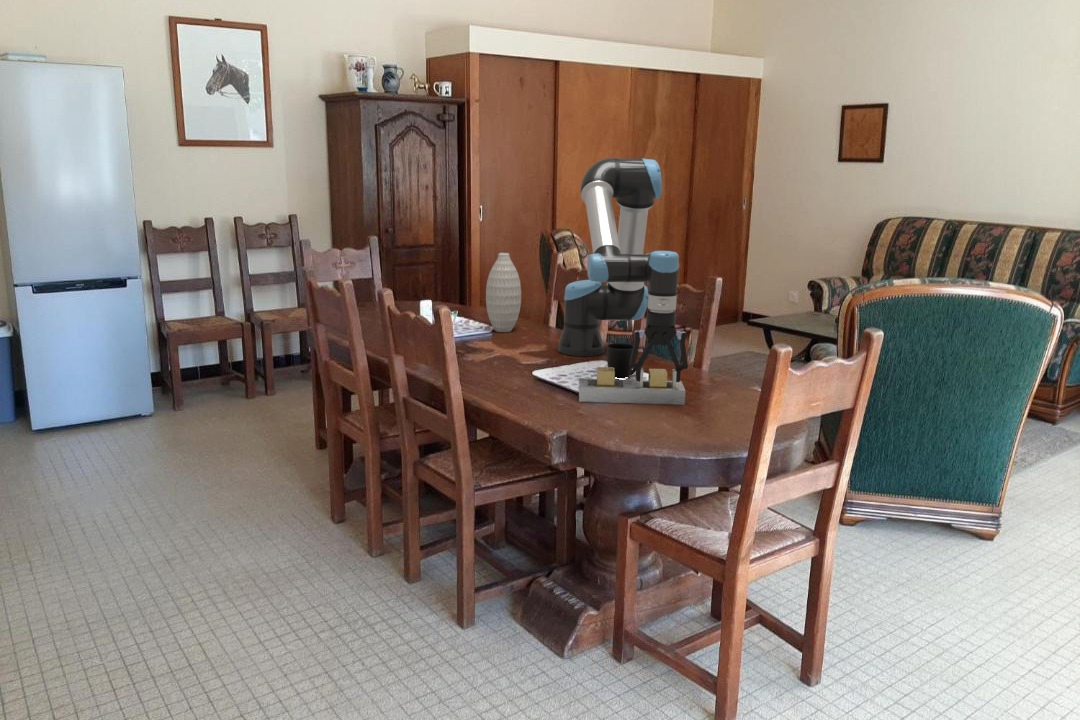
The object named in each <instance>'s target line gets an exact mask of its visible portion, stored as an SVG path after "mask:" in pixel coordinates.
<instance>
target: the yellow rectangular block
mask: <svg viewBox="0 0 1080 720" xmlns="http://www.w3.org/2000/svg"><path fill="white" fill-rule="evenodd" d="M647 380H648V388H664V389H666V388H667V381H668V371H667V370H666V368H648V378H647Z"/></svg>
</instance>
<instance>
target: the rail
mask: <svg viewBox="0 0 1080 720" xmlns="http://www.w3.org/2000/svg"><path fill="white" fill-rule="evenodd" d="M578 381H579V383H578V402H579V403H580V402H581V403H605V404H606V403H607V404H608V403H610V404H611V403H613V404H615V403H616V404H642V405H643V404H644V405H678V406H679V405H680V406H684V405H685V403H686V392H687V391H686V389H685V387H684V384H683V381H681V380H680V382H676V389H671V388H672V380H667V388H666V389H664V388H648V379H647V380H645V379H643V388H641V387H640V384H639V381H636V379H626V380H619V379H614V387H597V378H580V377H579V378H578Z"/></svg>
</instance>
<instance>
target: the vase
mask: <svg viewBox="0 0 1080 720" xmlns="http://www.w3.org/2000/svg"><path fill="white" fill-rule="evenodd" d="M510 256H511V255H510V253H509V252H499V253H498V254H497V258H496V260H495V261H494V264H493V265H492V267H491V269H490V271H489V274H488V276H487V282H486V289H485V305H486V311H487V316H488V318H489V321H490V324H491V326H492V328H493V329H494V331H495V332H497V333H509V332H510V333H511V332H512V330H513V328H514V327H515V325H516V324H517V321H518V318H519V314H520V312H521V311H520V310H521V304H522V287H521V279H520V277H519V273H518V270H517V268H516V266H515V265H514V263H513V261H512V259H511V257H510Z"/></svg>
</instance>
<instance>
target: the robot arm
mask: <svg viewBox="0 0 1080 720" xmlns="http://www.w3.org/2000/svg"><path fill="white" fill-rule="evenodd" d="M662 180H663V179H662V172H661V167H660V165H659V163H658V162H657V161H656V160H655V159H649V158H644V157H643V158H613V157H608V158H603V159H601V160H599V161H596V162H595V163H594V164H592V165H591V166H590V167H589V168H588V169H587V171H586V172H585V173H584V175H583V178H582V181H581V183H580V190H579V191H580V197H581V200H582V202H583V203H584V204H585V207H586V214H587V220H588V222H587V223H588V227H589V234H590V241H591V247H592V253H591V254H589V255H588V257H587V263H586V265H587V266H586V271H587V277H588V278H587V279H582V280H578V281H577V280H576V281H572V282H570V283H568V284H567V285H566V286H565V290H564V297H563V300H564V315H563V316H564V318H563V322H564V323H563V329H562V331H561V334H560V338H559V340H558V344H557V351H558V352H559V353H560V354H563V355H565V356H566V355H568V356H573V357H574V356H575V357H593V356H599V355H602V354H603V353H604V350H605V347H604V346H605V345H604V342H603V338H602V334H601V331H600V321H627V322H631V321H639V320H640V319H642V318H643V317H644V316H645V313H646V325H645V328H644V330H643V329H640V330H638V329H635V330H634V342H633V350H632V354H631V358H630V362H629V364H630V367H632V369H633V368H635V369H636V371H635V380H636V381H639V384H640V387H641V388H643V380H644V374H645V373H644V368H643V366H644V363H645V362H646V360H647V358H648V356H649V355H650V352H651V350H652V349H653V348H654V346H663V347H665V346H666V347H667V349H668V352H669V355H670V357H671V360H672V362H673V364H674V367H675V368H672V373H671V374H672V375H671V381H672V388H671V389H676V382H680V381H681V373H682V372H681V371H683V370H687V369H688V368H689V366H688V365H689V364H688V357H687V355H688V354H687V348H686V347H687V346H686V338H687V333H686V331H684V330H682V331H679V330H677V329H676V316H677V315H676V314H677V313H676V309H677V294H678V282H679V268H680V263H679V260H680V258H679V257H680V256H679V254H678V253H677V252H676V251H672V250H654V251H652V252H648V253H646V254H644V247H645V241H646V240H645V239H646V231H647V223H648V216H649V210H650V209H651V208H653V207H654V205H655V199H656V200H658V199H660V198H661V197H662V193H663V181H662ZM613 199H616V204H617V205H618V206H619V207H620V209H619V210H620V211H619V220H618V227H617V225H616V224H617V223H616V218H615V212H614V207H613V201H612V200H613ZM617 228H618V230H617ZM602 283H607V284H602ZM645 283H648V287H647V286H646V284H645ZM647 309H648V310H647ZM644 335H645V337H646V338H647V339H648V340H647V342H646V345H645V346H644V347H645V349H644V350H643V349H642V352H641V354H640V356H639V358H638V360H637V356H638V352H639V349H638V348H639V347H640V343H641V340H642V339H643V338H644V337H643V336H644ZM675 337H677V339H678V341H679V350H680V358H681V363H680V362H679V360H678V358H677V355H676V352H675V349H674V347H673V345H672V340H673V339H674V338H675ZM636 360H637V362H636Z"/></svg>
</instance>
